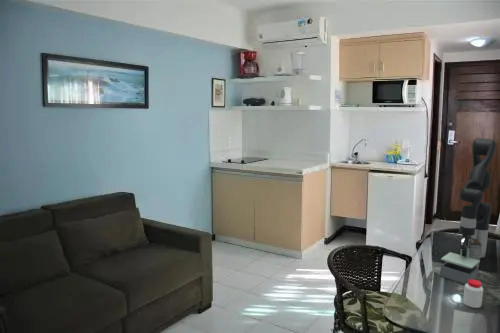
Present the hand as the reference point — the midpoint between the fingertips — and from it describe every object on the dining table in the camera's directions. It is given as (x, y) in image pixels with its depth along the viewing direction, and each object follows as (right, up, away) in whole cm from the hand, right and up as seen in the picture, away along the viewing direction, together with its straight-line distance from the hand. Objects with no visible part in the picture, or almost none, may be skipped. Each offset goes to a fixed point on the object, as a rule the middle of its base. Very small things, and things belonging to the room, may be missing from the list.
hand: (464, 255), depth 228 cm
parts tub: (-4, -11, -2) cm, 12 cm away
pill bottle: (-12, -17, -30) cm, 36 cm away
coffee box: (+9, -9, +11) cm, 17 cm away
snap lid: (-4, -3, -3) cm, 6 cm away
